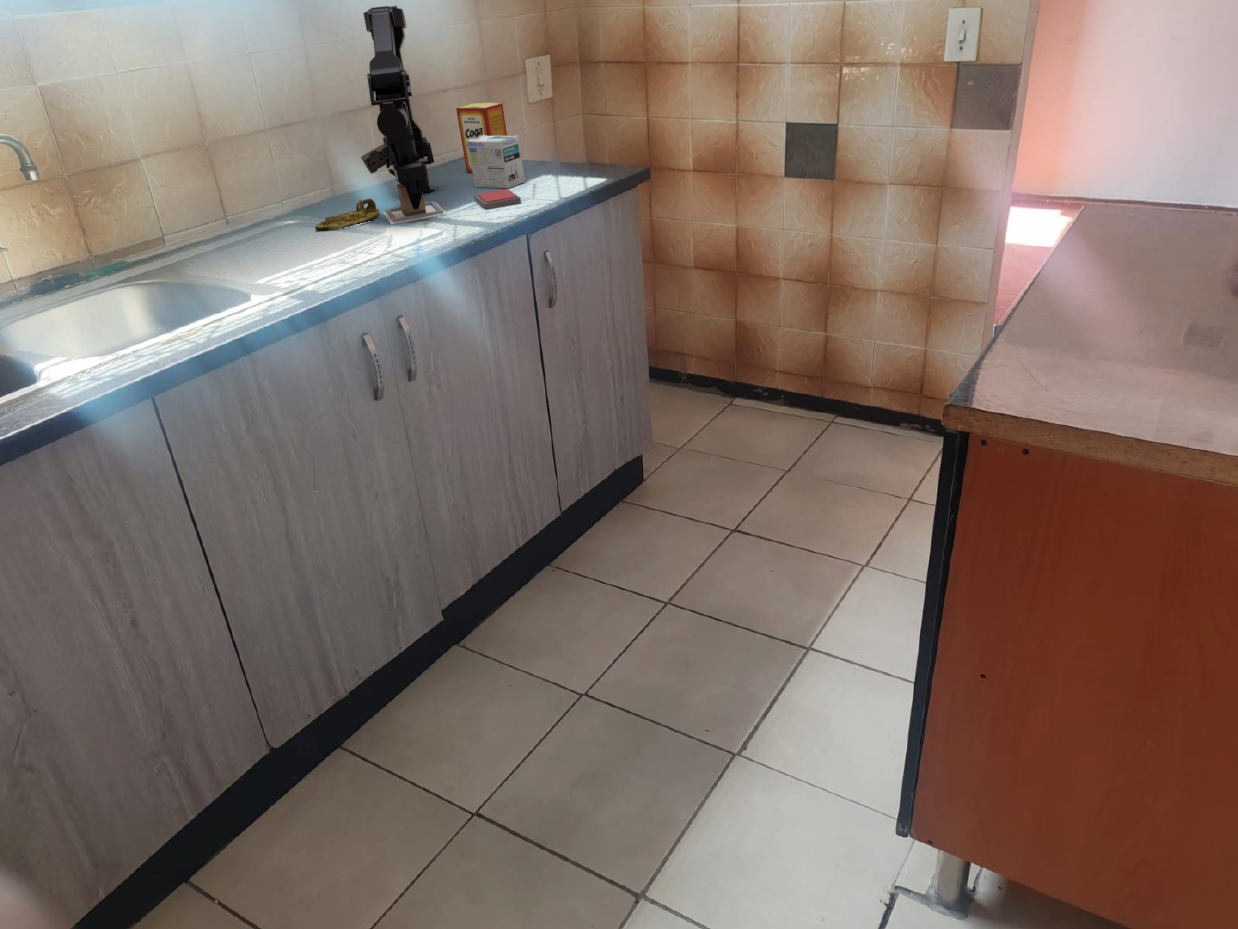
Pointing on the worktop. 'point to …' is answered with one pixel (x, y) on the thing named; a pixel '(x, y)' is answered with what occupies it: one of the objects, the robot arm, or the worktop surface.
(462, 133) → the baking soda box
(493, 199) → the ink pad
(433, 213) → the frame
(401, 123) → the robot arm
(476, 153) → the light bulb box
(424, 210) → the brown cardboard box
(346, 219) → the seal
